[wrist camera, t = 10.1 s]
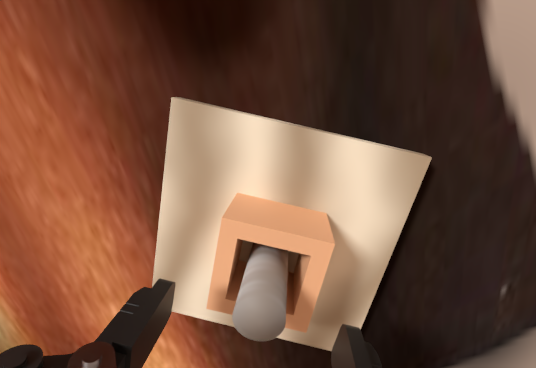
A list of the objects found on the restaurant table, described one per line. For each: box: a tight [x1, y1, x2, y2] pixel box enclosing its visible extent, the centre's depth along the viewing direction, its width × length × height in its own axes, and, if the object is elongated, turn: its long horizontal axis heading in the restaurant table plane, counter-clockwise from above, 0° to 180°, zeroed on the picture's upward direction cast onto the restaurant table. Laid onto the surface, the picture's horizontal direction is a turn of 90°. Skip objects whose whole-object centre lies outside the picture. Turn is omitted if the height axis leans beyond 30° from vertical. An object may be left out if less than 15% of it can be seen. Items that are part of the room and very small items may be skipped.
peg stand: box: [152, 97, 432, 351], centre depth 16 cm, size 16×16×8 cm
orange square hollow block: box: [206, 193, 335, 333], centre depth 17 cm, size 6×6×4 cm
